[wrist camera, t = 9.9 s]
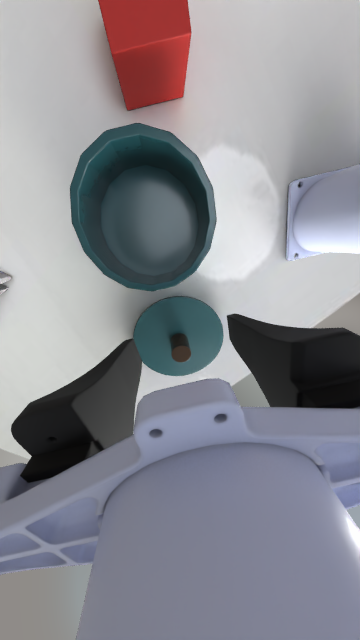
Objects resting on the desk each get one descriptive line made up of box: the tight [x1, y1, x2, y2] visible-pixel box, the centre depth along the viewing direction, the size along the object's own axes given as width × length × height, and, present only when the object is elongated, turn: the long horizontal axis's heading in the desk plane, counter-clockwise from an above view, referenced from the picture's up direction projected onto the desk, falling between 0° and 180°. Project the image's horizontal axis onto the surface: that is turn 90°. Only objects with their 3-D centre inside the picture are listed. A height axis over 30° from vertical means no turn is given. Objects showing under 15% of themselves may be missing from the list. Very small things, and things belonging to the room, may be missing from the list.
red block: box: [98, 0, 191, 110], centre depth 12 cm, size 5×5×5 cm
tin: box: [70, 123, 216, 291], centre depth 16 cm, size 11×11×6 cm
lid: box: [133, 296, 223, 376], centre depth 23 cm, size 12×12×4 cm
